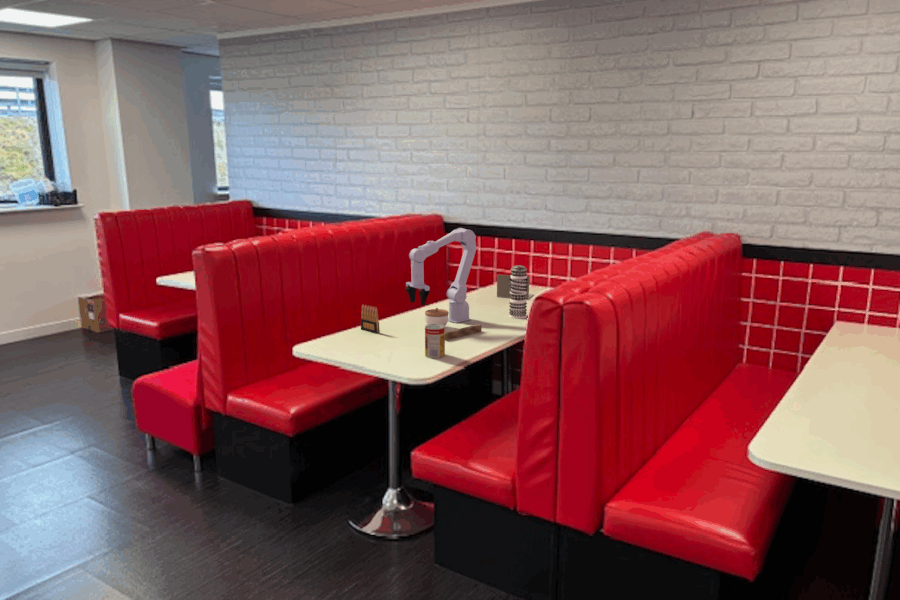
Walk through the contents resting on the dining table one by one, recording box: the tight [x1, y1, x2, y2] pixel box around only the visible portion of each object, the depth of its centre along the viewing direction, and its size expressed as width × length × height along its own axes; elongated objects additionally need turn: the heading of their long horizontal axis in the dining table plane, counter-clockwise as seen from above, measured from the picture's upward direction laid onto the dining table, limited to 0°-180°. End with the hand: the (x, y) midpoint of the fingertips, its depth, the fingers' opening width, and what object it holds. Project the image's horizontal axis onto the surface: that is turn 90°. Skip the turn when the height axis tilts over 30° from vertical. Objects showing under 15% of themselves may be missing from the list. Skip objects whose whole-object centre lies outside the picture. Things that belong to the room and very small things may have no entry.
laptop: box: [496, 274, 534, 301], centre depth 381 cm, size 18×12×13 cm
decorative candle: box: [508, 264, 528, 319], centre depth 335 cm, size 9×9×25 cm
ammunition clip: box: [360, 303, 381, 334], centre depth 309 cm, size 11×2×12 cm, turn 48°
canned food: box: [424, 324, 446, 359], centre depth 274 cm, size 8×8×12 cm
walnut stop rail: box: [445, 323, 483, 341], centre depth 303 cm, size 22×2×3 cm, turn 132°
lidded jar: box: [424, 307, 449, 327], centre depth 315 cm, size 11×11×9 cm
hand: (417, 303), depth 319 cm, fingers open, 7 cm apart
